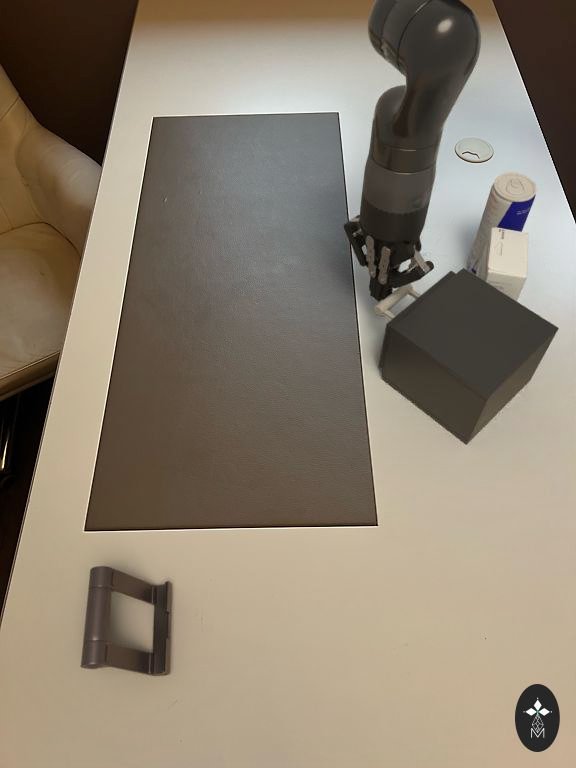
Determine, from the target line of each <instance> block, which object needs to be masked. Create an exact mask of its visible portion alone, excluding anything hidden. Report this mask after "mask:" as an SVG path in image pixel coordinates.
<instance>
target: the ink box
mask: <svg viewBox="0 0 576 768" xmlns="http://www.w3.org/2000/svg"><path fill="white" fill-rule="evenodd" d="M529 238H530V235H529V232H525V231H522V232H519V231H514V230H508V229H503V228H497V227H495V228H493V227H492V228H491V231H490V234H489V237H488V240H487V243H486V246H485V249H484V252H483V255H482V258H481V260H480V263H479V266H478V269H477V272H476V276H477V277H479V278H480V279H482V280H484V281H485V282H487V283H488V284H490V285H491V286H493V287H495V288H496V289H498V290H499V291H501V292H503V293H504V294H506V295H507V296H509V297H510V298H512V299H514V300H515V301H517V302H518V299H519V297H520V295H521V292H522V290H523V288H524V285H525V283H526V281H527V278H528V264H529V263H528V262H529V243H530V242H529Z"/></svg>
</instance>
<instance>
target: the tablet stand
mask: <svg viewBox="0 0 576 768" xmlns="http://www.w3.org/2000/svg"><path fill="white" fill-rule="evenodd" d="M89 570H90V571H89V578H88V579H89V580H88V589H87V598H86V599H87V600H86V610H85V618H84V619H85V620H84V628H83V638H82V639H83V640H82V649H81V660H80V668H81V669H85V670H86V669H87V670H97V669H104V668H113V669H118V670H123V671H126V672H127V671H128V672H132V673H138V674H142V675H146V676H151V677H164V676H169V675H170V674H171V647H172V646H171V645H172V644H171V642H172V604H173V602H172V600H173V584H172V583H171V582H170V581H169V580H168V581H165V582H164V584H159V585H158V584H157V585H156V584H152V583H150V582H147V581H145V580H143V579H141V578H138V577H136V576H132V575H131V574H128V573H126V572H123V571H120V570H118V569H115V568H113V567H111V566H107V565H106V566H105V565H99V566H93V567H90V569H89ZM113 592H115V593H118V594H122V595H124V596H127V597H130V598H133V599H136V600H138V601H141V602H143V603H146V604H149V605H151V606H153V608H154V609H153V626H152V627H153V631H152V651H151V652H147V651H143V650H140V649H136V648H132V647H128V646H124V645H120V644H116V643H113V642H109V634H110V633H109V630H110V618H111V604H112V594H113Z"/></svg>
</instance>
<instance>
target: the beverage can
mask: <svg viewBox="0 0 576 768" xmlns="http://www.w3.org/2000/svg"><path fill="white" fill-rule="evenodd" d="M494 179H495V180H494V182H493V184H492V185H491V188H490V191H489V194H488V197H487V200H486V203H485V206H484V209H483V212H482V216H481V219H480V222H479V226H478V228H477V231H476V235H475V238H474V241H473V244H472V247H471V251H470V254H469V257H468V260H467V264H466V267H467V270H468V271H469V272H471V273H473V274H474V275H476V272H477V269H478V266H479V263H480V260H481V258H482V255H483V252H484V249H485V246H486V243H487V240H488V237H489V234H490V231H491V228H492V227H493V228H495V227H497V228H503V229H508V230H514V231H519V232H523V229H524V227H525V225H526V222H527V220H528V217H529V215H530V212H531V209H532V207H533V204H534V201H535V199H536V196H537V190H538V189H537V185H536V183H535V182H534V181H533V179H531V178H530V177H529V176H527V175H525V174H523V173H519V172H504V173H502V174H499V175H498V176H497V177H496V178H494Z"/></svg>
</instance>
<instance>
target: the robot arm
mask: <svg viewBox="0 0 576 768" xmlns="http://www.w3.org/2000/svg"><path fill="white" fill-rule="evenodd" d="M481 30H482V29H481V25H480V21H479V18H478V16H477V14H476V13H475V12H474V10H473V9H472V8H471V7H470V6H469V5H468V4H466V3H465V2H463V1H462V0H374V2H373V4H372V7H371V9H370V13H369V17H368V22H367V36H368V40H369V43H370V45H371V47H372V48H373V49H374V51H375V52H376V53H377V54H378V56H380V57H381V58H382V59H384V61H386V62H387V63H388V64H390V65H391V66H392V67H393V68H394V69H395V70H397V71H398V73H400V74H401V75H403V76H404V77H405V84H401V85H396V86H393V87H390V88H388V89H387V90H385V91H384V92H383V93H382V94H381V95H380V96H379V98H378V100H377V102H376V104H375V107H374V111H373V116H372V122H371V123H372V124H371V131H370V132H371V133H370V139H369V140H370V141H369V148H368V154H367V157H366V162H365V166H364V171H363V179H362V180H363V181H362V190H361V200H360V207H359V214H357V215H355V216H354V217H352V218H351V219H350V220H348V221H347V222H346V223H344V224H343V230H344V232H345V235H346V236H347V239H348V241H349V243H350V246H351V248H352V250H353V253H354V255H355V258H356V260H357V262H358V264H359V266H361V267H363V268H365V267H366V268H367V273H368V275H369V282H368V283H369V284H368V290H369V292H370V295H369V297H371V298H373V300H375V301H377V302H378V303H380V302H382V301H383V300H384V299H385V298H387V297H388V296H389V295H390V294H392V293H393V292H394V291H393V290H397V289H398V288H399V287H401V286H404V285H407V284H412V283H415V282H417V281H419V280H422V279H423V278H424V277H425V276H427V275H428V274H429V273H430V272H432V271H433V270H434V269H435V265H434V263H433V261H431V260H425V259H424V257H423V255H422V254H421V253H420V252H421V251H422V242H421V235H422V233H423V230H424V228H425V224H426V221H427V216H428V211H429V207H430V202H431V197H432V194H433V189H434V185H435V181H436V175H437V162H438V155H439V150H440V146H441V142H442V137H443V132H444V127H445V124H446V122H447V120H448V118H449V116H450V114H451V112H452V111H453V109H454V107H455V105H456V103H457V101H458V99H459V97H460V95H461V93H462V92H463V90H464V88H465V87H466V85H467V83H468V81H469V79H470V78H471V75H472V73H473V72H474V69H475V68H476V65H477V63H478V60H479V57H480V53H481V48H482V47H481V46H482V32H481ZM363 247H365V249H366V253H365V252H364V249H363ZM409 260H410V262H409V264H408V265H407V266H408V268H406V269H404V270H402V271H400V268H401V265H402V264H403V263H405V262H407V261H409Z"/></svg>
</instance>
